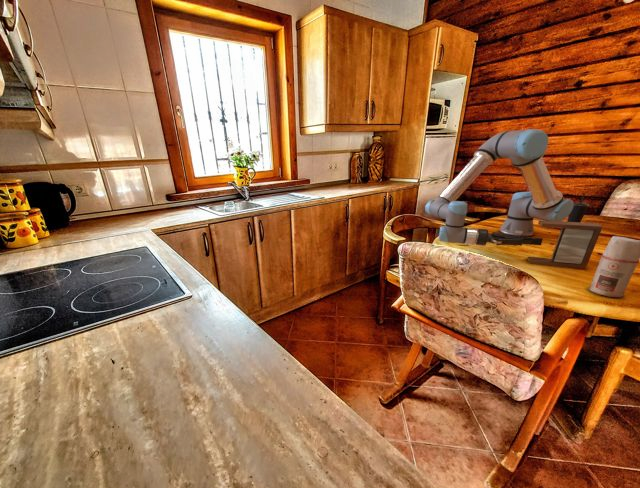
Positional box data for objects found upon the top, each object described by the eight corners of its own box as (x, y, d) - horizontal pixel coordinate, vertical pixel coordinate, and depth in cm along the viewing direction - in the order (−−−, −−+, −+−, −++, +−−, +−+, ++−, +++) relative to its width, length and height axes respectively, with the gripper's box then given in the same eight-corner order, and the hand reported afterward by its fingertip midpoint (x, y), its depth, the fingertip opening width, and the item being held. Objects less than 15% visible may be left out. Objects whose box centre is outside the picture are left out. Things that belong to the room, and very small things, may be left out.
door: (550, 258, 120) (562, 226, 114) (578, 260, 116) (591, 227, 110) (552, 259, 119) (563, 227, 113) (580, 262, 115) (593, 228, 109)
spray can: (580, 287, 100) (602, 234, 92) (601, 286, 100) (625, 233, 92) (607, 299, 92) (634, 242, 84) (630, 297, 92) (658, 240, 84)
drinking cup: (573, 225, 165) (585, 191, 157) (584, 229, 158) (598, 194, 150) (559, 226, 166) (570, 192, 158) (569, 229, 159) (582, 194, 151)
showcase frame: (526, 259, 124) (538, 220, 117) (580, 264, 117) (596, 223, 110) (529, 263, 120) (542, 223, 113) (585, 269, 113) (603, 226, 106)
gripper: (473, 240, 135) (534, 245, 125) (476, 248, 125) (543, 255, 115) (476, 225, 132) (539, 229, 122) (480, 233, 122) (549, 238, 112)
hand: (541, 241), depth 118 cm, fingers closed
